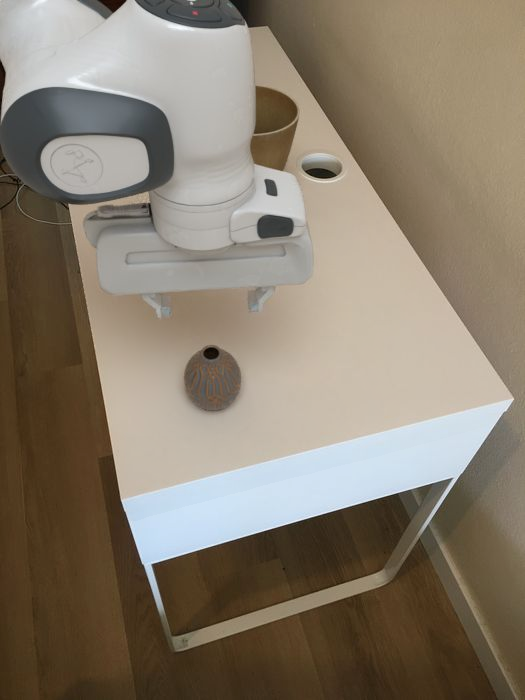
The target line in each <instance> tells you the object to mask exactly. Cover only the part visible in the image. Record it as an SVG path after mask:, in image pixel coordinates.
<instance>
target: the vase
mask: <svg viewBox="0 0 525 700" xmlns="http://www.w3.org/2000/svg"><path fill="white" fill-rule="evenodd" d="M183 384H184V389H185V391H186V394H187V396H188V398H189V399H190V400H191V401H192V403H193V404H195V405H196V406H197V407H198V408H201V409H203V410H206V411H219V410H223V409H225V408H227V407H228V406H230V405H231V404H232V403H233V402H234V401H235V400H236V399H237V397H238V395H239V393H240V390H241V388H242V387H241V386H242V373H241V369H240V367H239V364H238V362H237V360H236V359H235V357H234V356H233V355H232V354H231V353H229V351H226V350H225V349H222V348H221V347H219V346H218V345H214V344H209V345H205V346H204V347H202V348H201V349H200V350H198V351H197V352H195V353H194V354H193V355H192V356H191V358H190V359H189V360H188V362H187V364H186V365H185V368H184V373H183Z"/></svg>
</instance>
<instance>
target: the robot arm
mask: <svg viewBox="0 0 525 700" xmlns="http://www.w3.org/2000/svg"><path fill="white" fill-rule="evenodd" d="M249 30H250V29H249V26H248V24H247V22H246V20H245V19H244V17H243V15H242V14H241V12H240V11H239V10H238V8H237V7H236V6H235V5H234V4H233V3H232V2H231V1H230V0H126V1H125V2H124V3H123V4H122V5H121V6H119V8H118V9H116V11H114V12H113V11H112V10H111V9H110V8H108V7H107V6H106V5H105V4H104V3H102V2H101V1H100V0H0V62H1V63H2V66H3V69H4V71H5V78H4V86H3V90H2V100H1V110H0V148H1V151H2V154H3V157H4V159H5V161H6V163H7V165H8V167H9V168H10V170H11V171H12V172H13V173H14V174H15V176H16V177H17V178H18V179H19V180H20V181H21V182H22V183H23V184H25V185H26V187H28V188H30V189H31V190H32V191H34V192H36V193H37V194H39V195H40V196H43V197H45V198H47V199H50V200H52V201H55V202H58V203H62V204H67V205H73V206H74V205H75V206H76V205H77V206H83V205H84V206H86V205H95V204H101V203H107V202H111V201H115V200H121V199H124V198H129V197H133V196H137V195H140V194H141V195H142V194H144V193H148V198H149V202H137V203H136V202H135V203H128V204H127V203H126V204H120V205H114V204H101V205H98V206H96V207H97V208H96V209H95V210H92V211H90V212H88V213H87V214H86V215H85V217H84V218H83V221H82V227H83V231H84V233H85V238H86V239H87V241H88V243H89V244H90V245H91V246H92V247H93V248H95V249H96V256H95V257H96V272H97V277H98V278H97V279H98V283H99V286H100V289H101V290H103V291H104V292H105V293H107V294H108V295H110V296H128V295H130V296H131V295H140V296H141V300H143V301H144V302H145V303H147V305H149V306H150V307H152V308H153V309H154V310H155V314H156V319H170V318H173V317H172V316H173V315H172V311H173V310H172V302H171V295H170V294H167V295H166V294H165V295H163V294H161V293H179V292H180V293H181V292H194V291H195V292H196V291H197V292H199V291H213V290H214V291H215V290H230V289H231V290H233V289H247V288H248V289H249V288H255V289H250V290H247V307H248V313H263V312H264V303H265V302H266V301H267V300H268V299H269V298H270V297H271V296H272V295H273V294H274V293H275V291H276V287H282V286H300V285H304V284H306V283H307V282H308V281H309V280H310V279H311V278H313V275H314V267H315V258H314V256H315V255H314V245H313V241H312V236H311V231H310V226H309V223H308V219H307V207H306V202H305V197H304V194H303V191H302V188H301V185H300V183H299V181H298V179H297V177H296V176H295V175H294V174H293V173H291V172H287V171H284V170H283V171H279V170H275V169H271V168H267V167H263V166H260V165H256V164H254V161H253V158H252V155H251V151H250V144H251V139H252V136H253V134H254V130H255V124H256V87H255V85H256V69H255V57H254V50H253V49H254V48H253V42H252V37H251V33H250V31H249Z"/></svg>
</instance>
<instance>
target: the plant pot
mask: <svg viewBox="0 0 525 700" xmlns="http://www.w3.org/2000/svg"><path fill="white" fill-rule="evenodd" d="M255 87H256V124H255V130H254V134H253V136H252V139H251V144H250V151H251V155H252V158H253V161H254V164H256V165H260V166H263V167H267V168H271V169H275V170H279V171H283V172H284V170H285V167H286V165H287V162H288V160H289V156H290V153H291V149H292V146H293V141H294V139H295V135H296V130H297V128H298V127H297V126H298V123H299V119H300V116H301V115H300V114H301V109H300V106H299V104H298V102H297V101H296V99H294V98H293V97H292V96H291V95H289V94H288V93H286V92H285V91H283V90H280V89H278V88H275V87H271V86H267V85H261V84H255Z"/></svg>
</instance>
